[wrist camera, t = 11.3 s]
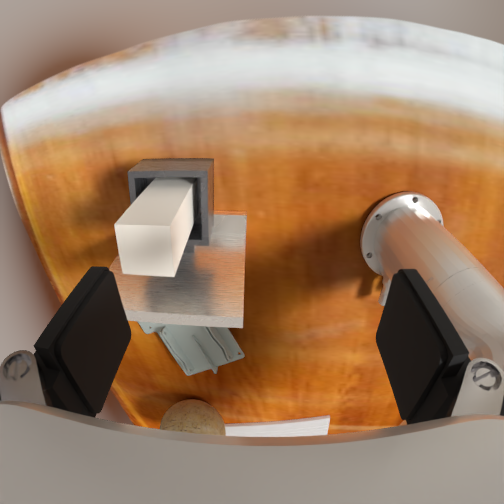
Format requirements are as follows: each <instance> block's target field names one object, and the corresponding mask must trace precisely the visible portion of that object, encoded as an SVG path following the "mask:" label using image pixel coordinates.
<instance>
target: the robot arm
mask: <svg viewBox="0 0 504 504" xmlns="http://www.w3.org/2000/svg"><path fill="white" fill-rule="evenodd" d="M376 215H377V216H376ZM360 246H361V252H362V255H363V257H364V259H365V261H366V263H367V264H368V266H369V267H370V268H371V269H372V270H373V271H374V272H376V273H377V274H379V275H381V276H383V281H382V283H383V285H384V286H383V289H382V291H381V294H380V297H379V300H378V302H379V303H380V304H381V305H383V306H384V310H383V313H382V317H381V320H380V323H379V326H378V330H377V333H376V343H377V346H378V349H379V351H380V354H381V357H382V360H383V363H384V366H385V369H386V372H387V375H388V378H389V381H390V384H391V387H392V390H393V393H394V396H395V400H396V403H397V406H398V409H399V413H400V416H401V418H402V420H404V421H403V422H402V423H401V424H400V425H399V426H397V427H390V428H383V429H377V430H369V431H361V432H353V433H343V434H331V435H317V436H295V437H241V436H220V435H206V434H195V433H185V432H176V431H167V430H160V429H153V428H146V427H140V426H134V425H128V424H123V423H118V422H113V421H108V420H104V419H99V418H95V416H96V414H97V413H100V412H101V410H102V408H103V405H104V402H105V400H106V397H107V395H108V392H109V390H110V387H111V385H112V382H113V380H114V377H115V375H116V372H117V370H118V368H119V365H120V363H121V360H122V358H123V356H124V353H125V351H126V349H127V346H128V344H129V342H130V339H131V329H130V326H129V323H128V320H127V317H126V314H125V311H124V307H123V304H122V301H121V297H120V294H119V290H118V287H117V283H116V280H115V276H114V273H113V272H112V271H110V270H109V269H108V268H107V267H91V268H90V269H89V270H88V271H87V273H86V274H85V275H84V277H83V278H82V279H81V280H80V282H79V283H78V284H77V286H76V287H75V288H74V290H73V291H72V292H71V293H70V295H69V296H68V298H67V299H66V300H65V302H64V303H63V304H62V306H61V307H60V308H59V310H58V311H57V313H56V314H55V316H54V317H53V318H52V320H51V321H50V323H49V324H48V325H47V327H46V328H45V330H44V331H43V333H42V334H41V336H40V337H39V339H38V340H37V342H36V343H35V345H34V347H35V349H36V352H35V353H34V355H33V354H32V353H31V352H30V351H27V350H19V351H16V352H14V353H12V354H10V355H9V356H7V357H6V358H5V359H4V361H3V362H2V364H1V366H0V504H504V288H503V287H502V286H501V285H500V284H499V283H498V282H497V281H496V279H495V278H494V277H493V276H492V275H491V274H490V273H489V272H488V271H487V270H486V269H485V268H484V266H483V265H482V264H481V263H480V262H479V261H478V260H477V259H476V258H475V257H474V256H473V255H472V254H471V253H470V252H469V251H468V250H467V249H466V248H465V247H464V246H463V245H462V244H461V243H460V242H459V241H458V240H457V239H456V238H455V237H454V236H453V235H452V234H451V233H450V232H449V231H448V230H447V229H446V228H445V227H443V219H442V215H441V212H440V210H439V209H438V207H437V205H436V204H435V203H434V202H433V201H432V200H430V199H429V198H428V197H426V196H425V195H422V194H420V193H416V192H401V193H397V194H394V195H392V196H390V197H387V198H386V199H384V200H383V201H382V202H380V203H379V204H378V205H377V206H376V207H375V208H374V209H373V210H372V212H371V213H370V214H369V216H368V217H367V219H366V221H365V223H364V225H363V228H362V232H361V238H360Z"/></svg>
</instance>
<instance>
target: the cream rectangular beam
mask: <svg viewBox="0 0 504 504" xmlns="http://www.w3.org/2000/svg"><path fill="white" fill-rule="evenodd" d="M196 217H197V177H156V178H155V179H154V180H153V181H152V182H151V183H150V184H149V186H148V187H147V188H146V189H145V190H144V191H143V192H142V193H141V194H140V195H139V197H138V198H137V199H136V200H135V201H134V202H133V203H132V204H131V206H130V207H129V208H128V209H127V210H126V211H125V212H124V214H123V215H122V216H121V217H120V218H119V219H118V221H117V222H116V223H115V224H114V226H115V233H116V239H117V245H118V251H119V257H120V262H121V267H122V272H123V274H132V275H147V276H164V277H175V274H176V271H177V268H178V265H179V263H180V260H181V257H182V254H183V251H184V249H185V246H186V243H187V241H188V238H189V235H190V233H191V230H192V227H193V225H194V222H195V219H196Z"/></svg>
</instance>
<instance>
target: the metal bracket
mask: <svg viewBox="0 0 504 504" xmlns="http://www.w3.org/2000/svg"><path fill="white" fill-rule="evenodd" d="M138 323H139V324H140V326H141V327H142V329H143V331H144V332H145V333H146V334H150V333H152V332H157V333H158V335H159V336H160V338H161V339H162V341H163V342H164V344H165V345H166V347H167V348H168V350H169V351H170V353H171V354H172V355H173V357H174V358H175V360H176V361H177V363H178V364H179V365H180V367H181V368H182V370H183V371H184V372H185V374H186V375H188V376H189V375H192V374H196V373H199V372H202V371H205V370H208V369H212V370H213V372H214V373H215V374H217V370H218V366H221V365H224V364H227V363H230V362H233V361H236V360H238V359H241V358H244V357H245V355H244V353H243V351H242V350H241V348H240V347H239V345H238V343H237V342H236V340H235V339H234V337H233V335H232V334H231V332H230V331H229V329H228V327H208V326H191V325H176V324H163V323H151V322H140V321H138ZM150 327H151V328H150ZM238 352H240V353H241V354H240V355H239V354H238ZM187 370H188V371H187Z"/></svg>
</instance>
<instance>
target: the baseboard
mask: <svg viewBox="0 0 504 504" xmlns="http://www.w3.org/2000/svg"><path fill="white" fill-rule="evenodd" d="M329 422H330V415H327V416H319V417H312V418H303V419H294V420H284V421H271V422H256V423H233V424H224V425H225V430H226V436H241V437H295V436H317V435H327V432H328V427H329Z"/></svg>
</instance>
